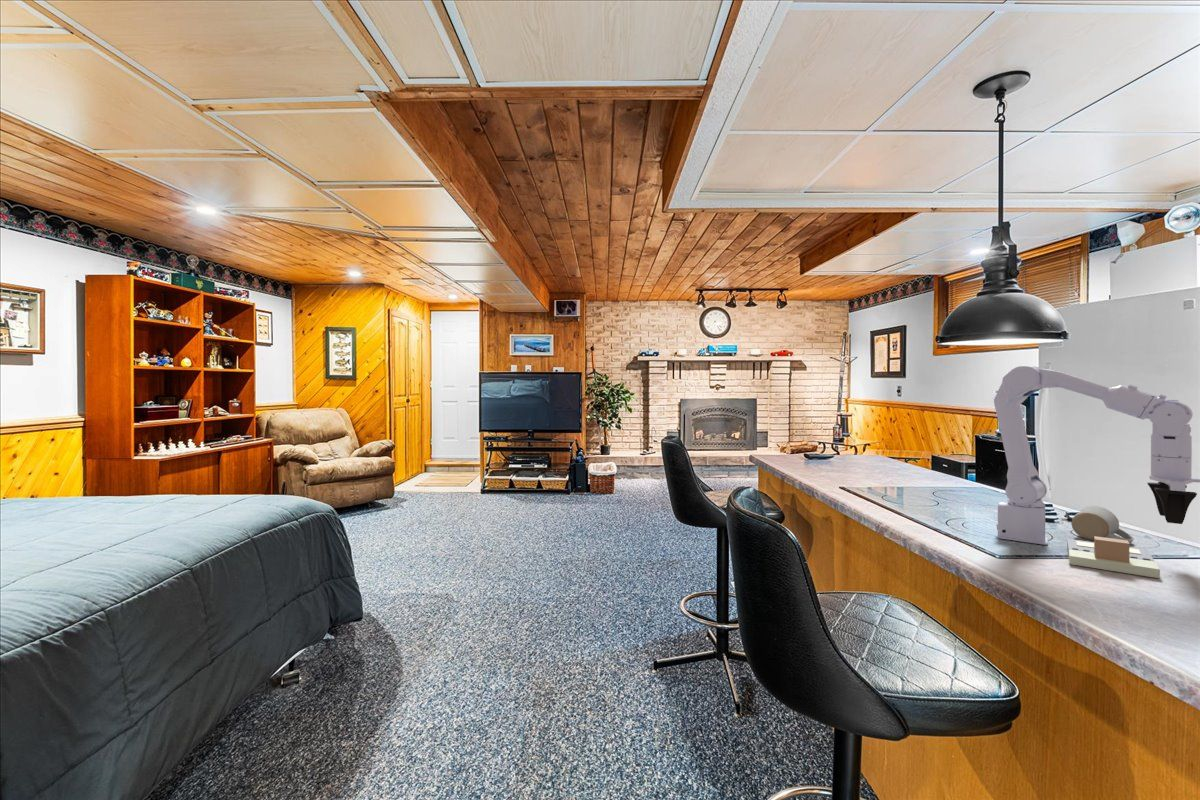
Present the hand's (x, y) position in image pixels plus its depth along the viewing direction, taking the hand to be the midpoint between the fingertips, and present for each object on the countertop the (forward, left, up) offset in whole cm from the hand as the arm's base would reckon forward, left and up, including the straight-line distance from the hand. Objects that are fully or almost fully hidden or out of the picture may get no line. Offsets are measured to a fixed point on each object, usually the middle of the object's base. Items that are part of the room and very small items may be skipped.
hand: (1170, 519), depth 106 cm
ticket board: (-10, -2, -10) cm, 14 cm away
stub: (-10, -11, -10) cm, 17 cm away
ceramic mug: (-9, +17, -10) cm, 22 cm away
